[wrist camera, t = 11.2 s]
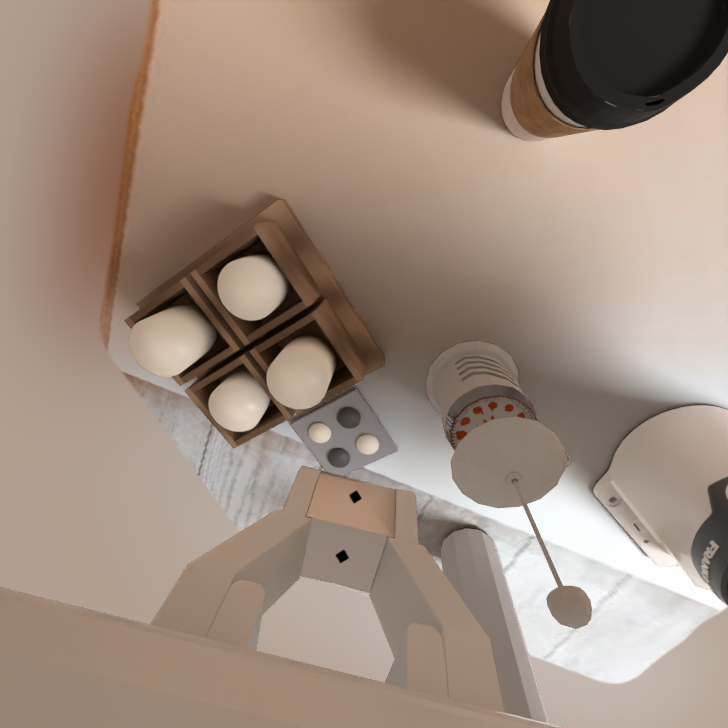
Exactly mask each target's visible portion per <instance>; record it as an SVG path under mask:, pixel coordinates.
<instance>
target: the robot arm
mask: <svg viewBox="0 0 728 728" xmlns="http://www.w3.org/2000/svg"><path fill="white" fill-rule="evenodd" d="M593 492H594V494H595V496H596V497H597V498H598V499H599V500H600V501H601V503H602V504H603V505H604V506H605V507H606V508H607V510H608V511H609V512H610V513H611V514H612V515H613V516H614V518H615V519H616V520H617V521H618V522H619V523H620V524H621V526H622V527H623V528H624V529H625V530H626V531H627V533H628V534H629V535H630V536H631V537H632V538H633V539H634V541H635V542H636V543H637V544H638V545H639V546H640V547H641V549H642V550H643V551H644V552H645V553H646V554H647V555H648V557H649V558H650V559H651V560H652V561H653V562H654V563H655V564H656V565H659V566H680V567H681V568H682V570H683V571H684V572H685V573H686V575H687V576H688V577H689V578H690V580H691V581H692V582H693V583H694V584H695V585H696V586H698V587H700V588H703V589H708V590H711V591H712V592H713V593H714V594H715V595H716V596H717V597H718V598H719V599H720V600H721V601H722V602H724V603H725V604H726V605H728V410H727V409H723V408H720V407H715V406H706V405H696V406H686V407H681V408H676V409H673V410H669V411H666V412H664V413H661V414H659V415H657V416H655V417H653V418H651V419H649V420H647V421H645V422H644V423H642V424H641V425H640V426H638V427H637V428H636V429H634V430H633V431H632V432H631V433H630V434H629V435H628V436H627V437H626V438H625V439H624V440H623V442H622V443H621V444H620V446H619V447H618V449H617V451H616V452H615V455H614V457H613V460H612V463H611V465H610V468H609V470H608V471H607V473H606V474H605V475H604V476H603V477H602V478H601V479H600V480H599V481H598V482H597V484H596V485H595V487H594V489H593ZM300 576H302V577H307V578H311V579H316V580H321V581H325V582H330V583H335V584H338V585H342V586H346V587H349V588H353V589H356V590H360V591H364V592H367V593H370V598H371V600H372V603H373V605H374V608H375V610H376V613H377V615H378V618H379V620H380V623H381V625H382V628H383V630H384V633H385V635H386V638H387V640H388V643H389V646H390V648H391V651H392V653H393V656H394V658H395V660H394V662H393V664H392V667H391V669H390V672H389V674H388V677H387V679H386V681H385V683H383V682H379V681H375V680H371V679H367V678H363V677H359V676H355V675H351V674H347V673H343V672H339V671H335V670H331V669H327V668H323V667H319V666H315V665H311V664H306V663H303V662H299V661H295V660H291V659H287V658H283V657H279V656H275V655H271V654H267V653H263V652H259V651H256V649H257V643H258V637H259V631H260V625H261V618H262V615H263V614H264V613H265V612H266V611H267V610H268V609H269V608H270V607H271V606H272V605H273V604H274V603H275V602H276V601H277V600H278V599H279V598H280V597H281V596H282V595H283V594H284V593H285V592H286V591H287V590H288V589H289V588H290V587H291V586H292V585H293V584H294V583H295V582H296V581H297V580H298V579H299V578H300ZM0 728H565V727H561V726H557V725H553V724H549V723H545V722H541V721H537V720H533V719H529V718H525V717H521V716H517V715H513V714H509V713H505V712H504V707H503V702H502V697H501V692H500V687H499V682H498V677H497V672H496V667H495V662H494V657H493V652H492V647H491V642H490V639H489V637H488V636H487V635H486V633H485V632H484V630H483V629H482V627H481V626H480V625H479V623H478V622H477V620H476V619H475V617H474V616H473V615H472V613H471V612H470V610H469V609H468V608H467V606H466V605H465V603H464V602H463V600H462V599H461V598H460V596H459V595H458V593H457V592H456V590H455V589H454V588H453V586H452V585H451V583H450V582H449V580H448V579H447V578H446V576H445V575H444V573H443V572H442V571H441V569H440V568H439V566H438V565H437V563H436V562H435V561H434V559H433V558H432V556H431V555H430V553H429V552H428V551H427V549H426V548H425V546H423V545H419V544H418V529H417V507H416V495H415V493H414V492H409V491H405V490H400V489H393V488H389V487H385V486H380V485H376V484H372V483H368V482H363V481H359V480H356V479H352V478H348V477H344V476H341V475H337V474H333V473H329V472H326V471H322V470H321V471H320V470H317V469H313V468H309V467H306V466H302V467H301V468H300V469H299V471H298V474H297V476H296V479H295V481H294V484H293V486H292V488H291V491H290V493H289V496H288V498H287V500H286V503H285V505H284V508H283V510H282V511H279V510H275V511H274V512H272V513H270V514H269V515H267V516H265V517H264V518H262V519H261V520H259V521H257V522H256V523H254V524H252V525H251V526H249V527H247V528H246V529H244V530H243V531H241V532H239V533H238V534H236V535H235V536H233V537H231V538H230V539H228V540H226V541H225V542H223V543H221V544H220V545H218V546H217V547H215V548H213V549H212V550H210V551H209V552H207V553H205V554H204V555H202V556H200V557H199V558H197V559H195V560H194V561H193V562H191V563H189V564H188V565H187V566H186V568H185V570H184V571H183V573H182V574H181V576H180V578H179V579H178V581H177V582H176V584H175V585H174V587H173V589H172V590H171V592H170V594H169V595H168V597H167V599H166V600H165V602H164V603H163V605H162V606H161V608H160V610H159V611H158V613H157V614H156V616H155V617H154V619H153V621H152V622H151V624H147V623H143V622H139V621H135V620H131V619H127V618H123V617H119V616H114V615H111V614H107V613H103V612H99V611H95V610H90V609H87V608H83V607H79V606H74V605H70V604H66V603H62V602H58V601H54V600H50V599H46V598H42V597H38V596H34V595H30V594H26V593H22V592H18V591H14V590H10V589H6V588H2V587H0Z"/></svg>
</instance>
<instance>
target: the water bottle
mask: <svg viewBox="0 0 728 728" xmlns="http://www.w3.org/2000/svg"><path fill="white" fill-rule="evenodd" d="M440 553H441V561H442V568H443V573H444V575H445V576H446V578H447V579H448V580H449V582H450V583H451V585H452V586H453V588H454V589H455V590H456V592H457V593H458V595H459V596H460V598H461V599H462V600H463V602H464V603H465V605H466V606H467V608H468V609H469V610H470V612H471V613H472V615H473V616H474V617H475V619H476V620H477V622H478V623H479V625H480V626H481V627H482V629H483V630H484V632H485V633H486V635H487V636H488V637H489V639H490V642H491V647H492V652H493V657H494V662H495V667H496V672H497V677H498V682H499V687H500V692H501V697H502V702H503V707H504V712H505V713H509V714H513V715H517V716H521V717H525V718H529V719H533V720H537V721H541V722H545V723H549V721H548V718H547V714H546V711H545V708H544V704H543V701H542V698H541V694H540V691H539V688H538V684H537V681H536V678H535V674H534V671H533V668H532V664H531V661H530V658H529V654H528V651H527V648H526V644H525V641H524V638H523V634H522V631H521V628H520V624H519V621H518V618H517V614H516V611H515V608H514V604H513V601H512V597H511V594H510V591H509V587H508V584H507V581H506V577H505V574H504V571H503V567H502V564H501V561H500V557H499V554H498V551H497V548H496V545H495V543H494V541H493V538H491V537H490V536H488V535H487V534H485V533H483V532H482V531H480V530H477V529H469V528H465V529H461V530H457V531H454V532H452V533H451V534H450V535H449V536H448V537H446V538H445V539H444V540H443V543H442V547H441V551H440Z"/></svg>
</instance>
